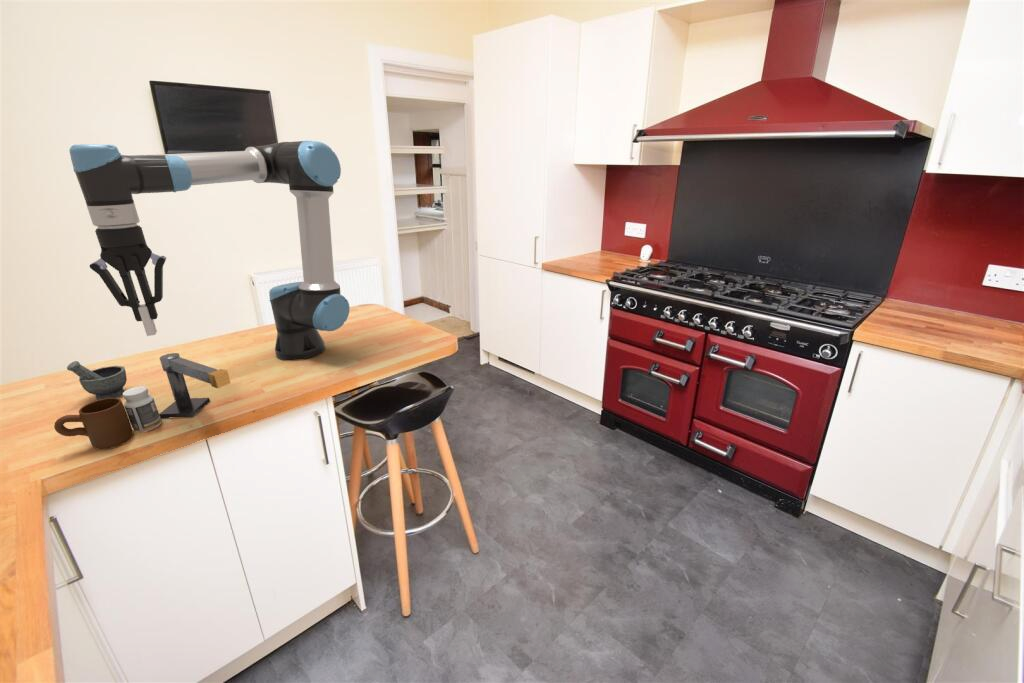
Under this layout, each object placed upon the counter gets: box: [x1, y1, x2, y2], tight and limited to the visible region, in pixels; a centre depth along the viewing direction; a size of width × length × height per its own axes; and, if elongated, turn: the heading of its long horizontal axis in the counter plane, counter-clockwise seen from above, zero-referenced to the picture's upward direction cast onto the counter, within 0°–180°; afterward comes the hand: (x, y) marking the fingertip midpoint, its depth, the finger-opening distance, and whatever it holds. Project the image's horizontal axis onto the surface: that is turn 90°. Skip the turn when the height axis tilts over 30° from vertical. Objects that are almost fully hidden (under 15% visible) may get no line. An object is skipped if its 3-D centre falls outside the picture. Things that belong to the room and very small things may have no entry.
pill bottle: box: [122, 385, 162, 433], centre depth 111 cm, size 6×6×10 cm
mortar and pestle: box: [66, 360, 128, 401], centre depth 125 cm, size 11×9×12 cm
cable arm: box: [159, 352, 232, 389], centre depth 111 cm, size 23×4×3 cm, turn 62°
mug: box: [53, 397, 134, 450], centre depth 104 cm, size 12×8×9 cm, turn 133°
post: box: [159, 371, 211, 419], centre depth 118 cm, size 8×8×12 cm
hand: (152, 333), depth 104 cm, fingers closed
